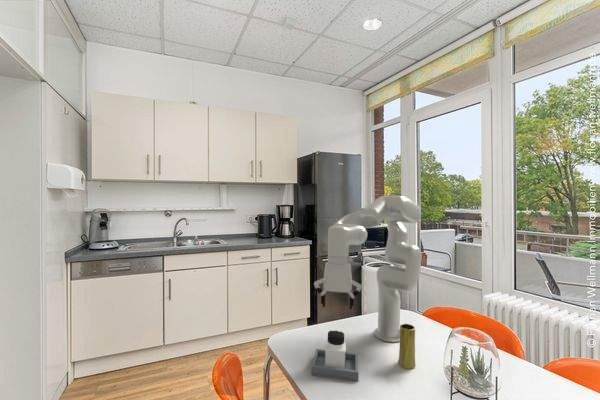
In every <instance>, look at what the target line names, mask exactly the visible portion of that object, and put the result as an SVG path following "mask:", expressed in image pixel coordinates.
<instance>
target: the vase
mask: <svg viewBox="0 0 600 400" xmlns="http://www.w3.org/2000/svg"><path fill="white" fill-rule="evenodd" d="M398 350H399V352H398V353H399V354H398V355H399V356H398V361H397V363H398V365H399V366H401V367H402V368H404V369H407V370H413V369H415V368H416V327H415V326H414V325H412V324H410V323H400V341H399V349H398Z"/></svg>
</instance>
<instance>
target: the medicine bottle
mask: <svg viewBox="0 0 600 400" xmlns="http://www.w3.org/2000/svg"><path fill="white" fill-rule="evenodd" d="M346 344H347V343H346V341H345V333H344V332H343V331H341V330H339V329H331V330H329V331H328V332H327V340H326V341H325V349H324V350H325V367H333V368H341V369H345V365H346V352H347V348H346Z"/></svg>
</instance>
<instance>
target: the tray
mask: <svg viewBox="0 0 600 400" xmlns="http://www.w3.org/2000/svg"><path fill="white" fill-rule="evenodd" d="M359 372H360V371H359V353H357V352H356V353H354V352H347V351H346V365H345V369H341V368H333V367H325V349H321V348H316V349H315V352H314V356H313V360H312V364H311V376H316V377H322V378H323V377H324V378H329V379H337V380H338V379H339V380H345V381H355V382H359V375H360V374H359Z"/></svg>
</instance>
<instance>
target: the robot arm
mask: <svg viewBox="0 0 600 400" xmlns="http://www.w3.org/2000/svg"><path fill="white" fill-rule="evenodd" d="M421 218H422V209H421V207H420V206H419V204H417V203H416V202H414V201H412V200H411V199H409V198H407V197H405V196H403V195H381V196H379V197H378V198H376V199H374V201H372V203H370V204H369V205H367V206H366V207H364V209H360V210H358V211H355V212H352V213H349V214H346V215H344V216H342V217H341V218H340V219H338V220H337V221H336V222H335V223H334V224H333V225H331V226H329V227H328V231H327V262H325V266H324V272H323V278H320V279H318V280H316V281H314V283H313V285H314V287H315V289H316V291H317V293H318V295H319V296H320V304H322V308H325V307H326V293H327V292H330V293H344V294H346V293H347V294H348V295H349V310H352V309H353V308H352V307H354V305H355V304H354V303H355V302H354V301H355V300H354V299H355V297H357V296H358V295H359V294H360V291H362V288H363V286H362V284H361V283H360V282H359V283H358V282H357V281H356V280H353V276H352V275H353V273H352V266H351V263H350V262H353V257H350V255H349V251H350V249H349V248H350V246H359V245H363V244H364V243H365V242H366V241H367V238H368V231H367V230H366V229H369V228H375V227H377V226H379V225H380V224H381V223H382V222H383V221H384V220H385V222H386V224H387V227H388V235H387V236H388V237H387V241H386V245H385V251H384V258H385V260H386V261H387V262H389V263H392V264H396V265H402V266H405V268H404V267H403V268H402V267H399V266H396V265H395V266H394V265H389V264H384V265H381V266H379V267H378V268H377V271H376V281H377V289H378V290H377V291H378V297H377V298H378V300H377V301H378V306H377V307H378V310H377V311H378V312H377V313H378V314H377V328H375V329H374V332H373V334H374V336H375V337H376V338H377V339H379V340H381V341H384V342H388V343H397V342H399V343H400V325H401V295H400V292H399V291H402V292H406V293H413V292H415V290H416V289H417V286H418V281H419V276H420V272H421V264H422V258H423V257H422V255H423V254H422V251H421V249H420V248H419V246H417V245H414V244H409V243H408V237H409V233H408V230H407V227H405V225H404V223H405V224H416V223H419V221H420V220H421ZM321 284H323V285H322V286H323V287H322V288H321V287H320V286H319V285H321ZM353 286H354V287H356V289H355V290H354V291H353Z"/></svg>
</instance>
